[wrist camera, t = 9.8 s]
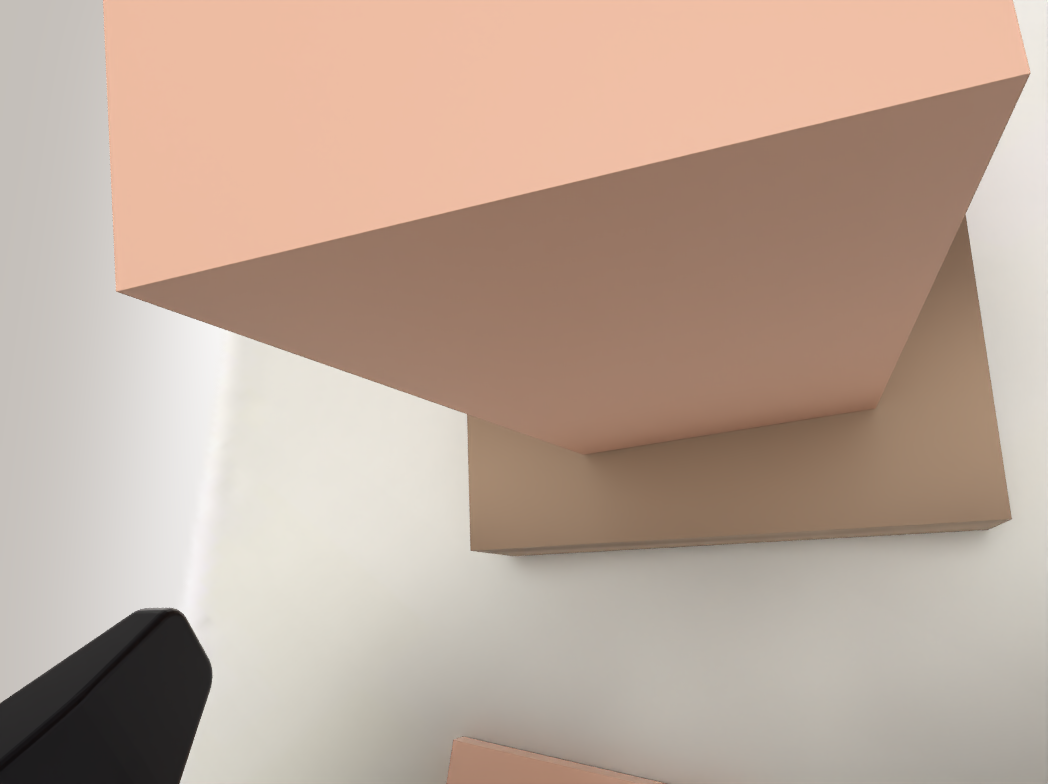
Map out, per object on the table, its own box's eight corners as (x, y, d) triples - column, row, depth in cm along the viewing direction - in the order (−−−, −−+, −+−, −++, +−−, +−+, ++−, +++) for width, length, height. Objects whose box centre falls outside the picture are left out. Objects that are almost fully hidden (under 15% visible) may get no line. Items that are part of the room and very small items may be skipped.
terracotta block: (875, 408, 16) (1030, 74, 4) (583, 454, 17) (116, 291, 6) (820, 129, 17) (828, -748, 5) (548, 193, 18) (85, -394, 7)
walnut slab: (984, 531, 18) (1011, 519, 15) (521, 557, 20) (470, 550, 17) (920, 91, 20) (934, 7, 17) (507, 167, 22) (459, 105, 19)
